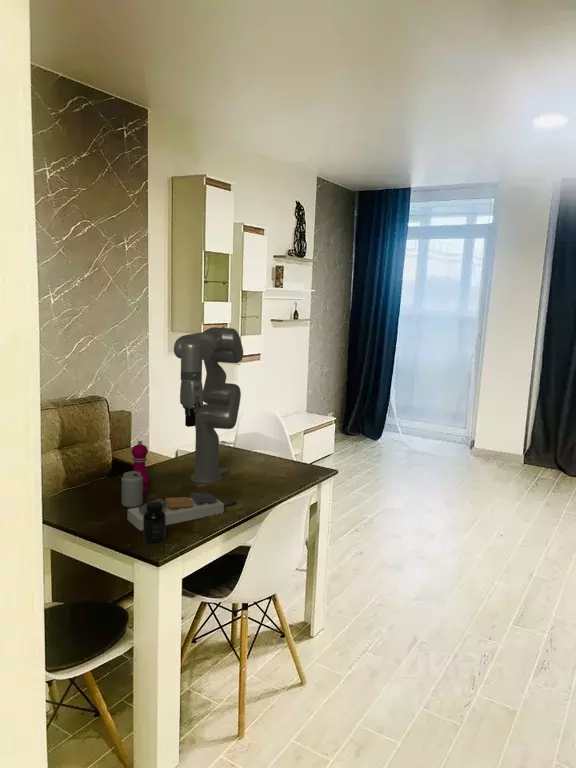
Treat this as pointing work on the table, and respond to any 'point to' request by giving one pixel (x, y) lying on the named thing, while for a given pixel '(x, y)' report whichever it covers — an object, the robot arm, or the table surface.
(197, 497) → the block
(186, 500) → the rocker
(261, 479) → the table surface
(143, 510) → the block
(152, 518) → the supplement bottle
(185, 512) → the power strip
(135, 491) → the can
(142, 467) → the pepper mill
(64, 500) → the table surface
